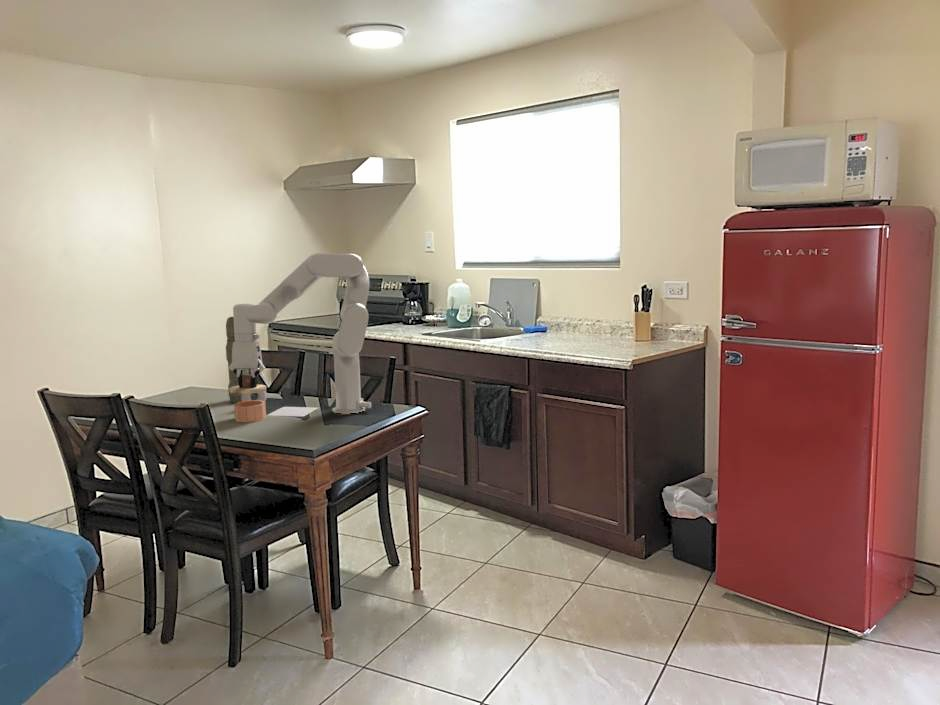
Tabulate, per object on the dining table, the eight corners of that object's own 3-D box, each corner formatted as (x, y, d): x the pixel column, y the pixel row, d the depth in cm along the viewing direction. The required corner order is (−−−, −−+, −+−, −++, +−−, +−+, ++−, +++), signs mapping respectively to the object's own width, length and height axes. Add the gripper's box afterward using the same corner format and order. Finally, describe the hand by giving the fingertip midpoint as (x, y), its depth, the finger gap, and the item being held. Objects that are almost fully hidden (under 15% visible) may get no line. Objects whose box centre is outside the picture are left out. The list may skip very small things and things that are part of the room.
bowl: (271, 416, 278) (270, 400, 277) (257, 423, 267) (256, 407, 266) (244, 415, 280) (243, 399, 279) (229, 422, 269) (228, 406, 268)
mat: (319, 408, 290) (319, 407, 290) (303, 417, 275) (303, 416, 275) (283, 407, 293) (283, 406, 293) (266, 416, 278) (266, 415, 278)
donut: (243, 411, 287) (242, 386, 286) (240, 409, 290) (239, 384, 289) (268, 407, 293) (267, 382, 291) (265, 406, 296) (264, 381, 294)
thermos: (236, 404, 299) (231, 318, 294) (224, 400, 308) (218, 316, 303) (257, 401, 305) (251, 317, 300) (244, 397, 314) (239, 315, 309)
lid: (272, 387, 277) (271, 372, 276) (256, 394, 264) (255, 378, 264) (240, 386, 280) (239, 372, 279) (222, 393, 267) (222, 377, 266)
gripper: (271, 337, 271) (273, 386, 274) (229, 336, 274) (232, 384, 277) (262, 339, 264) (264, 390, 267) (219, 338, 267) (221, 388, 270)
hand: (248, 386), depth 272 cm, fingers closed on lid, 4 cm apart
